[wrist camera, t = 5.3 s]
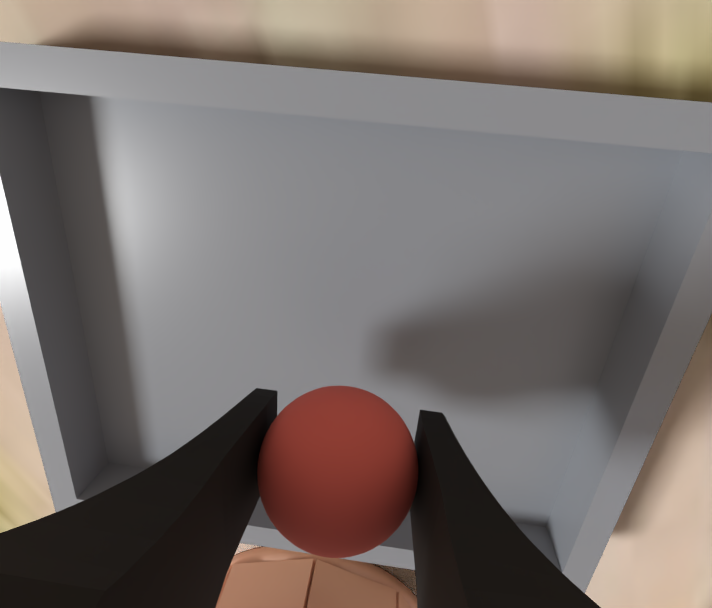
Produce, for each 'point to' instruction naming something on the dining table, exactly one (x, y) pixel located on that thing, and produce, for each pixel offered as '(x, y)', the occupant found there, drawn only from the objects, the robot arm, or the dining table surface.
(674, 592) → the dining table surface
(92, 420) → the tray
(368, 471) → the ball
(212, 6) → the dining table surface
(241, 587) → the pink bowl
